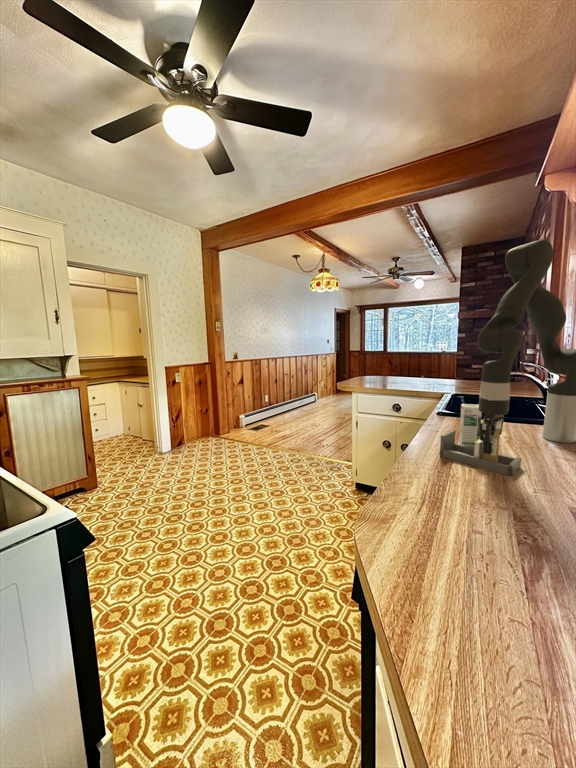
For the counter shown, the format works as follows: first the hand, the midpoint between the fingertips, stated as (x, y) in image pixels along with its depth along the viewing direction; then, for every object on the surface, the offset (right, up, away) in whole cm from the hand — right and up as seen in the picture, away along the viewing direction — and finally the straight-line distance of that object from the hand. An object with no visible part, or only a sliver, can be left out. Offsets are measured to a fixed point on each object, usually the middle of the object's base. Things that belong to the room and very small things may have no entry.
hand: (489, 451), depth 95 cm
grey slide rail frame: (-2, -4, +3) cm, 5 cm away
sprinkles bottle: (0, -4, +1) cm, 4 cm away
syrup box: (+4, -2, +18) cm, 18 cm away
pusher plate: (-2, -2, +2) cm, 4 cm away
